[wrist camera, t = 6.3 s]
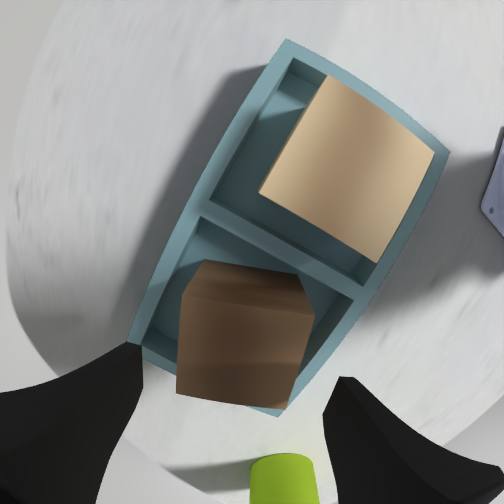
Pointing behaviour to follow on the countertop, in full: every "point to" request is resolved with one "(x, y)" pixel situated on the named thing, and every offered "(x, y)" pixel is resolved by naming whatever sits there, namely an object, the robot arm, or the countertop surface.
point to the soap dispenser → (283, 480)
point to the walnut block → (242, 335)
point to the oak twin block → (348, 169)
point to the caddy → (274, 220)
